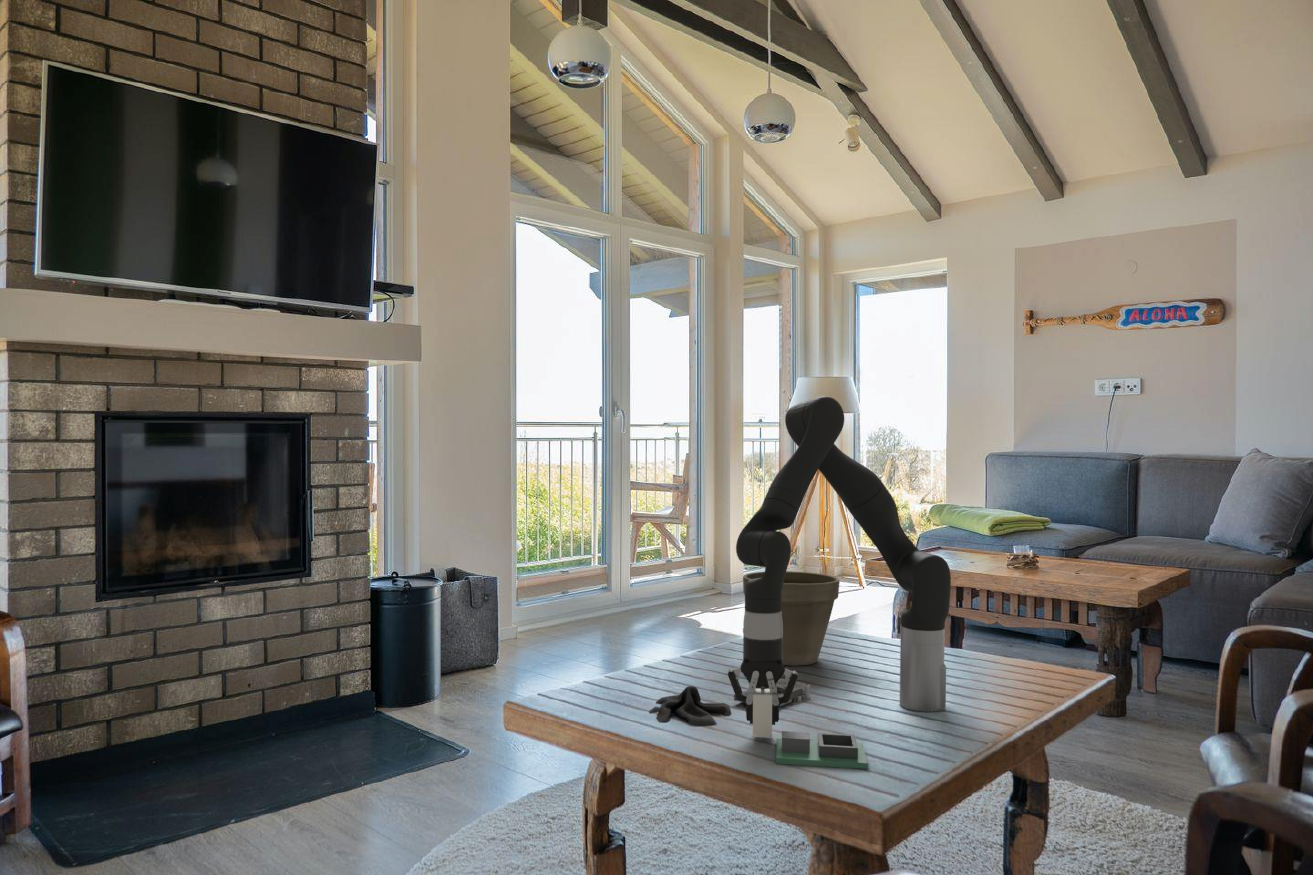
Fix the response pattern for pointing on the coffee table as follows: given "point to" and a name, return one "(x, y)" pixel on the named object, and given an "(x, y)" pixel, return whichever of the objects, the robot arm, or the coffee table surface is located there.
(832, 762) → the header board
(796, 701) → the graphics card
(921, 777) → the coffee table surface
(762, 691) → the plug
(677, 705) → the cloth
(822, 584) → the plant pot
